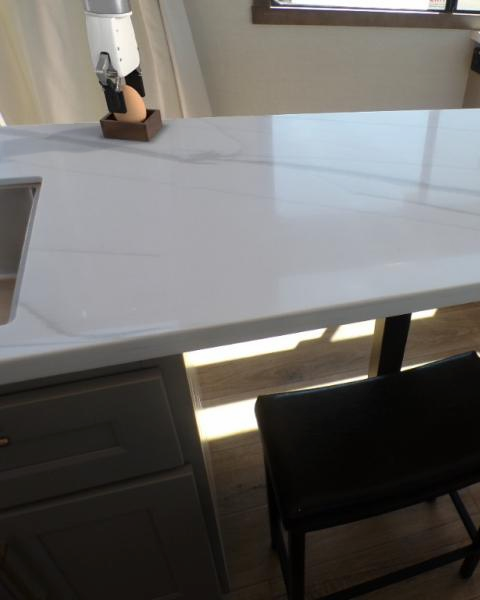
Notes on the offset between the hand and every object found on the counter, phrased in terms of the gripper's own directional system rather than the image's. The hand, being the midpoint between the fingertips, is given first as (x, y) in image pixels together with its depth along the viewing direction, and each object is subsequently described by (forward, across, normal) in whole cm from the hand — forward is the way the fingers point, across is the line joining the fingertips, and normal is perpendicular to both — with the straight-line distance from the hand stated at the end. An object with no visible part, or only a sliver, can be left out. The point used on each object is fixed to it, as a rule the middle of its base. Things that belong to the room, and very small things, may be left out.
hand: (128, 104), depth 100 cm
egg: (+5, 0, 0) cm, 5 cm away
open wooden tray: (+5, 0, 0) cm, 5 cm away
